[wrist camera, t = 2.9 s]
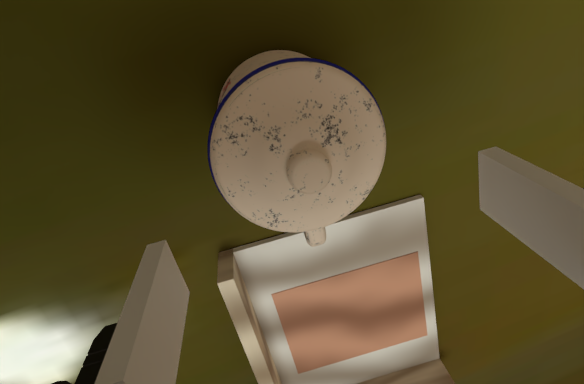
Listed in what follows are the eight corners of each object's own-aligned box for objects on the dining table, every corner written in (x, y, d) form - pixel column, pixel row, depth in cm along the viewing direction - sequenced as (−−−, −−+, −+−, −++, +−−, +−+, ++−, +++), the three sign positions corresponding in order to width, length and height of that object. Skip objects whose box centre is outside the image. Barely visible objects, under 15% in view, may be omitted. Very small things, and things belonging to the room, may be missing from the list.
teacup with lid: (195, 65, 25) (170, 99, 15) (330, 30, 25) (401, 39, 15) (246, 221, 30) (255, 329, 20) (357, 190, 31) (424, 280, 20)
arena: (218, 252, 31) (217, 283, 27) (420, 194, 32) (444, 217, 28) (280, 409, 40) (285, 448, 36) (437, 361, 40) (457, 395, 37)
